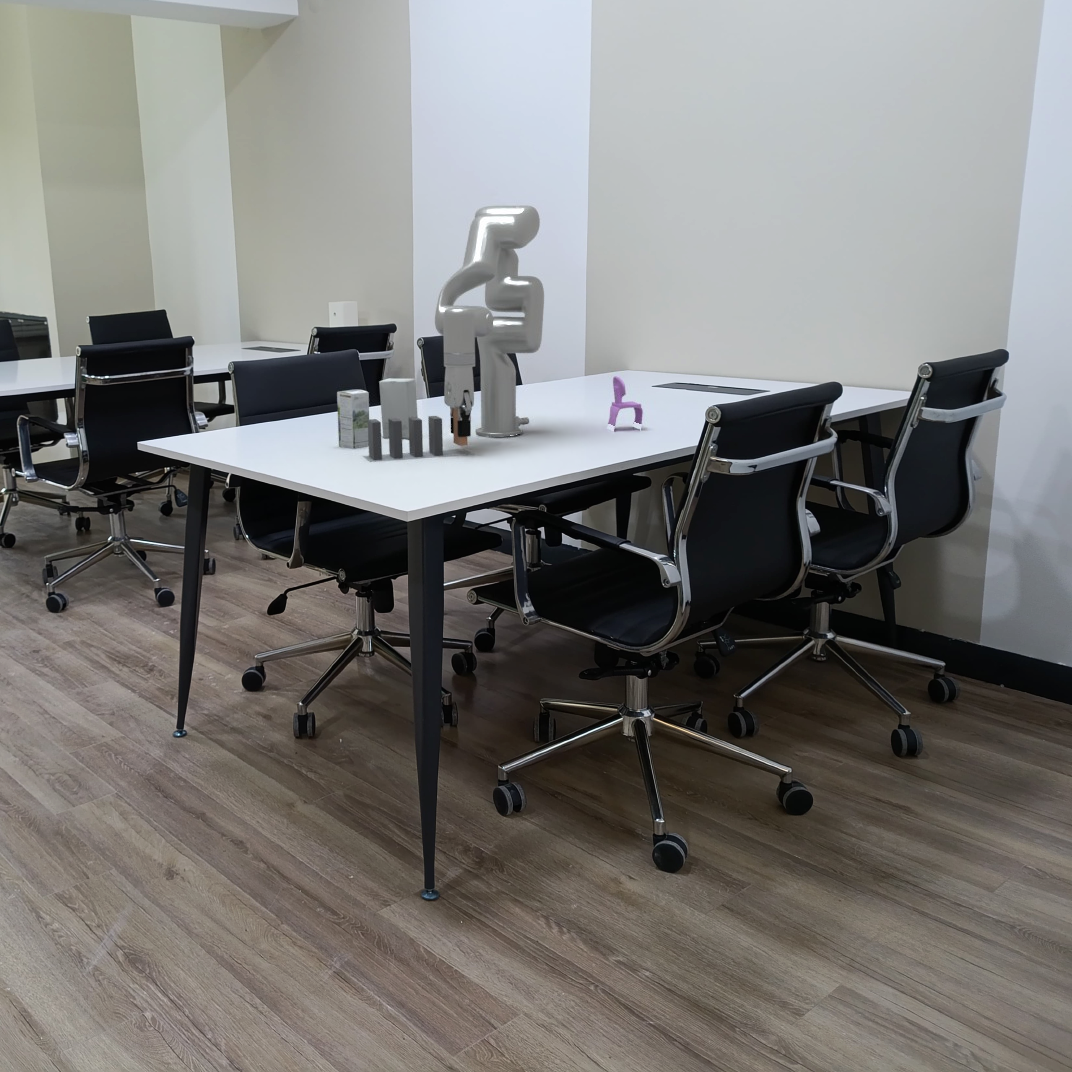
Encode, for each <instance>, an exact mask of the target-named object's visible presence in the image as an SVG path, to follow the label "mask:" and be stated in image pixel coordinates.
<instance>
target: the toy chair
mask: <svg viewBox="0 0 1072 1072" xmlns="http://www.w3.org/2000/svg"><path fill="white" fill-rule="evenodd" d="M612 386H613V396H614V401H612V402H611V406H610V408H609V418H608V423H607V424H611V425H613V426H615V427H616V423H617V418H618V414H619V412H620V410H623V409H629V408H630V409H633V410H634V421H633V423H634V422H636V423H639V424H642V425H643V415H644V414H643V413H644V412H643V411H644V410H643V407H642V404H641V403H638V402H635V401H623V397H625V396H626V395H627V393H626V385H625V382H624V380H622V378H620V376H613V379H612Z"/></svg>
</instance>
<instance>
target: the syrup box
mask: <svg viewBox="0 0 1072 1072" xmlns="http://www.w3.org/2000/svg"><path fill="white" fill-rule="evenodd" d="M369 393H370V392H368V391H367V390H363V389H349V390H348V389H347V390H342V391H341V390H340V391H339V390H338V391H337V392H336V402H337V429H338V430H337V431H338V447H340V448H347V449H351V450H356V449H361V448H365V447H369V441H368V420H369V419H370V403H369V402H370V398H369V396H370V395H369Z"/></svg>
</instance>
